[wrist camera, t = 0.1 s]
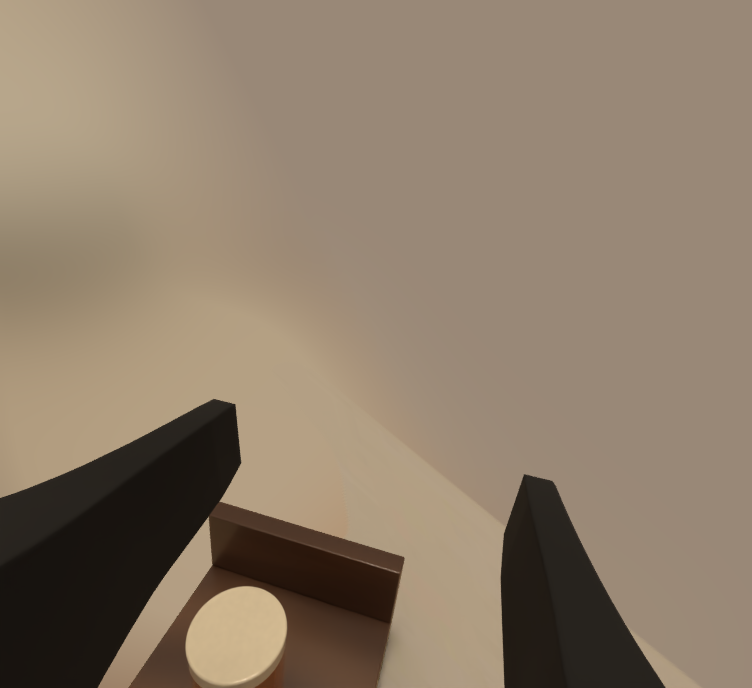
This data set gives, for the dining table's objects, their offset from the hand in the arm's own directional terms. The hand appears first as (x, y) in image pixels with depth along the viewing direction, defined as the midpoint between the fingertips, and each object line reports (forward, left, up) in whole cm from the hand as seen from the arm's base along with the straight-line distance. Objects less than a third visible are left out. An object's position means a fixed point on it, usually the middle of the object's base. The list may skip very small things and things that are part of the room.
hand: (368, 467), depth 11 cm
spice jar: (+2, +5, -19) cm, 20 cm away
